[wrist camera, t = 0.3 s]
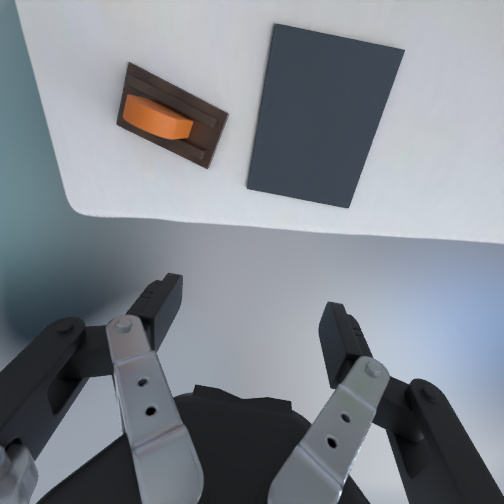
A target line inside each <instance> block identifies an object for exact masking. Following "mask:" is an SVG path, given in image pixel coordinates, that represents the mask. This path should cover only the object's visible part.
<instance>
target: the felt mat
mask: <svg viewBox="0 0 504 504" xmlns="http://www.w3.org/2000/svg"><path fill="white" fill-rule="evenodd" d="M404 52H405V50H402V49H398V48H393V47H388V46H383V45H378V44H373V43H368V42H363V41H358V40H354V39H349V38H344V37H339V36H334V35H329V34H324V33H319V32H315V31H310V30H305V29H300V28H295V27H290V26H285V25H280V24H275V26H274V32H273V38H272V44H271V50H270V56H269V61H268V67H267V73H266V79H265V85H264V91H263V97H262V103H261V109H260V115H259V121H258V127H257V133H256V138H255V144H254V150H253V156H252V162H251V168H250V174H249V180H248V186H247V189H251V190H256V191H261V192H267V193H272V194H277V195H282V196H287V197H292V198H297V199H302V200H307V201H313V202H318V203H323V204H328V205H333V206H338V207H343V208H349V206H350V203H351V200H352V197H353V195H354V192H355V189H356V186H357V183H358V181H359V178H360V175H361V172H362V169H363V167H364V164H365V161H366V158H367V155H368V153H369V150H370V147H371V144H372V141H373V139H374V136H375V133H376V130H377V127H378V125H379V122H380V119H381V116H382V113H383V111H384V108H385V105H386V102H387V99H388V97H389V94H390V91H391V88H392V85H393V82H394V80H395V77H396V74H397V71H398V68H399V66H400V63H401V60H402V57H403V54H404Z"/></svg>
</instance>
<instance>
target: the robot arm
mask: <svg viewBox="0 0 504 504" xmlns="http://www.w3.org/2000/svg"><path fill="white" fill-rule="evenodd" d="M182 286H183V276H182V275H178V274H173V273H168V274H167V275H166V276H165V278H164V279H163V280H162V281H159V280H156V281H154V282H152V283H151V284H149V285H148V286H147V288H146V289H145V290H144V292H143V293H142V294H141V295H140V297H139V298H138V299H137V300H136V301H135V303H134V304H133V305H132V307H131V308H130V309H129V310H128V312H127V313H126V314H125V315H121V316H118V317H115V318H114V319H112V320H111V321H110V322H109V323H108V324H107V325H103V326H89V327H85V323H84V321H83V320H82V319H80V318H76V317H68V318H63V319H59V320H57V321H55V322H53V323H51V324H50V325H48V326H47V327H46V328H45V329H44V330H43V331H42V332H41V333H40V334H39V335H38V336H37V337H36V338H35V339H34V340H33V341H32V342H31V343H30V344H29V345H28V346H27V347H26V348H25V349H24V350H23V351H21V353H19V354H18V356H17V357H15V358H14V359H13V360H12V361H11V362H10V363H9V364H8V365H7V366H6V367H5V368H4V369H3V370H2V371H1V372H0V504H29V502H30V499H31V496H32V494H33V492H34V490H35V487H36V485H37V482H38V470H37V467H36V465H35V460H36V459H37V457H38V456H39V454H40V453H41V451H42V450H43V448H44V447H45V445H46V444H47V442H48V440H49V439H50V437H51V436H52V434H53V433H54V431H55V430H56V428H57V427H58V425H59V424H60V422H61V421H62V419H63V418H64V416H65V414H66V413H67V411H68V410H69V408H70V407H71V405H72V404H73V402H74V401H75V399H76V398H77V396H78V394H79V393H80V392H81V390H82V388H83V387H84V385H85V384H86V382H87V381H88V379H89V378H90V377H97V376H106V375H112V380H113V386H114V391H115V396H116V401H117V407H118V413H119V419H120V425H121V432H122V436H120V437H119V438H118V439H116V440H115V441H114V442H112V443H111V444H110V445H108V446H107V447H106V448H104V449H103V450H102V451H101V452H99V453H98V454H97V455H95V456H94V457H93V458H92V459H90V460H89V461H87V462H86V463H85V464H84V465H82V466H81V467H80V468H79V469H77V470H76V471H74V472H73V473H72V474H71V475H69V476H68V477H67V478H65V479H64V480H63V481H62V482H60V483H59V484H57V485H56V486H55V487H54V488H52V489H51V490H50V491H49V492H48V493H46V495H44V496H43V497H42V498H41V499H40V500H39V501H38V502H37V503H36V504H370V503H369V501H368V500H367V498H366V497H365V496H364V494H363V493H362V492H361V490H360V489H359V487H358V486H357V485H356V483H355V482H354V480H353V479H352V478H351V476H350V475H349V473H350V470H351V468H352V466H353V464H354V462H355V459H356V457H357V455H358V453H359V450H360V448H361V446H362V444H363V441H364V439H365V437H366V434H367V432H368V430H369V428H370V426H371V423H374V424H376V425H378V426H380V427H382V428H384V429H386V432H387V435H388V438H389V442H390V445H391V447H392V451H393V454H394V457H395V460H396V463H397V467H398V470H399V473H400V476H401V479H402V483H403V485H404V488H405V492H406V495H407V498H408V501H409V504H504V496H503V494H502V493H501V491H500V489H499V487H498V486H497V484H496V482H495V480H494V479H493V478H492V475H491V474H490V472H489V470H488V469H487V467H486V465H485V463H484V462H483V460H482V458H481V457H480V455H479V453H478V451H477V450H476V448H475V446H474V444H473V443H472V441H471V439H470V438H469V436H468V434H467V432H466V431H465V429H464V427H463V426H462V424H461V422H460V420H459V419H458V417H457V416H456V413H455V412H454V410H453V408H452V407H451V405H450V403H449V401H448V400H447V398H446V397H445V395H444V394H443V393H442V391H441V390H439V389H438V388H437V387H436V386H435V385H433V384H432V383H430V382H428V381H426V380H423V379H413V380H412V381H411V383H410V384H407V383H405V382H402V381H400V380H398V379H395V378H393V377H391V376H390V375H389V372H388V370H387V369H386V368H385V367H384V366H383V364H382V363H380V362H379V361H377V360H376V359H374V358H373V356H372V354H371V352H370V349H369V347H368V344H367V342H366V340H365V338H364V335H363V333H362V331H361V328H360V326H359V324H358V322H357V321H356V320H355V319H354V317H353V316H351V315H349V314H347V313H346V311H345V308H344V305H343V304H339V303H334V302H328V303H327V304H326V307H325V310H324V312H323V316H322V318H321V321H320V324H319V338H320V343H321V347H322V352H323V356H324V361H325V365H326V369H327V374H328V379H329V383H330V388H332V389H336V390H335V391H334V393H333V394H332V396H331V397H330V399H329V400H328V402H327V403H326V404H325V406H324V408H323V409H322V411H321V412H320V413H319V415H318V416H317V418H316V420H315V421H314V422H313V424H311V423H310V422H309V421H308V420H307V419H305V418H304V417H303V416H302V415H300V414H298V413H297V412H295V411H293V410H292V406H291V401H286V400H281V399H274V398H269V397H265V398H252V399H241V398H239V397H237V396H234V395H232V394H229V393H227V392H225V391H223V390H221V389H218V388H212V387H206V386H201V385H195V388H194V391H193V393H186V394H182V395H179V396H176V397H174V398H173V396H172V394H171V391H170V388H169V386H168V383H167V380H166V378H165V375H164V372H163V370H162V367H161V364H160V362H159V359H158V356H157V354H156V353H157V351H158V349H159V347H160V345H161V343H162V341H163V340H164V338H165V336H166V334H167V332H168V330H169V327H170V326H171V324H172V322H173V320H174V318H175V316H176V314H177V312H178V310H179V308H180V305H181V301H182Z"/></svg>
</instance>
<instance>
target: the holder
mask: <svg viewBox="0 0 504 504" xmlns="http://www.w3.org/2000/svg"><path fill="white" fill-rule="evenodd" d="M128 94H130V95H134V96H138V97H142V98H147V99H151V100H154V101H156V102H158V103H160V104H162V105H164V106H166V107H168V108H170V109H172V110H174V111H175V112H177V113H179V114H181V115H183V116H185V117H187V118H189V119H191V120H193V125H192V128H191V131H190V134H189V137H188V138H182V139H166V138H163V137H159V136H157V135H154V134H151V133H149V132H146V131H144V130H142V129H140V128H138V127H136V126H134V125H132V124H130V123H129V122H127V121H126V120H125V119H124V118H123V113H124V108H125V103H126V99H127V95H128ZM228 116H229V114H228V113H226V112H224V111H222V110H220V109H218V108H216V107H214V106H213V105H211V104H209V103H207V102H205V101H203V100H201V99H199V98H197V97H195V96H193V95H192V94H190V93H188V92H186V91H184V90H182V89H180V88H178V87H176V86H174V85H172V84H171V83H169V82H167V81H165V80H163V79H161V78H159V77H157V76H155V75H153V74H151V73H149V72H148V71H146V70H144V69H142V68H140V67H138V66H136V65H134V64H132V63H130V62H129V64H128V69H127V74H126V78H125V84H124V89H123V94H122V99H121V104H120V109H119V113H118V119H117V125H118V126H120V127H122V128H124V129H126V130H129V131H131V132H133V133H135V134H137V135H139V136H141V137H143V138H145V139H147V140H149V141H151V142H153V143H155V144H157V145H159V146H161V147H163V148H165V149H167V150H169V151H172V152H174V153H176V154H178V155H180V156H182V157H184V158H186V159H188V160H190V161H192V162H194V163H196V164H198V165H200V166H202V167H204V168H206V169H208V168H209V166H210V164H211V161H212V158H213V156H214V153H215V150H216V148H217V145H218V142H219V140H220V137H221V134H222V132H223V129H224V126H225V124H226V121H227V118H228Z"/></svg>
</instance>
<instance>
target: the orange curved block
mask: <svg viewBox="0 0 504 504" xmlns="http://www.w3.org/2000/svg"><path fill="white" fill-rule="evenodd" d="M123 118H124V119H125V120H126V121H127V122H129V123H130V124H132V125H134V126H136V127H138V128H140V129H142V130H144V131H146V132H149V133H151V134H154V135H157V136H159V137H163V138H166V139H182V138H188V137H189V134H190V131H191V128H192V125H193V120H191V119H189V118H187V117H185V116H183V115H181V114H179V113H177V112H175V111H174V110H172V109H170V108H168V107H166V106H164V105H162V104H160V103H158V102H156V101H154V100H151V99H147V98H142V97H138V96H134V95H130V94H128V95H127V99H126V103H125V108H124V113H123Z"/></svg>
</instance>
